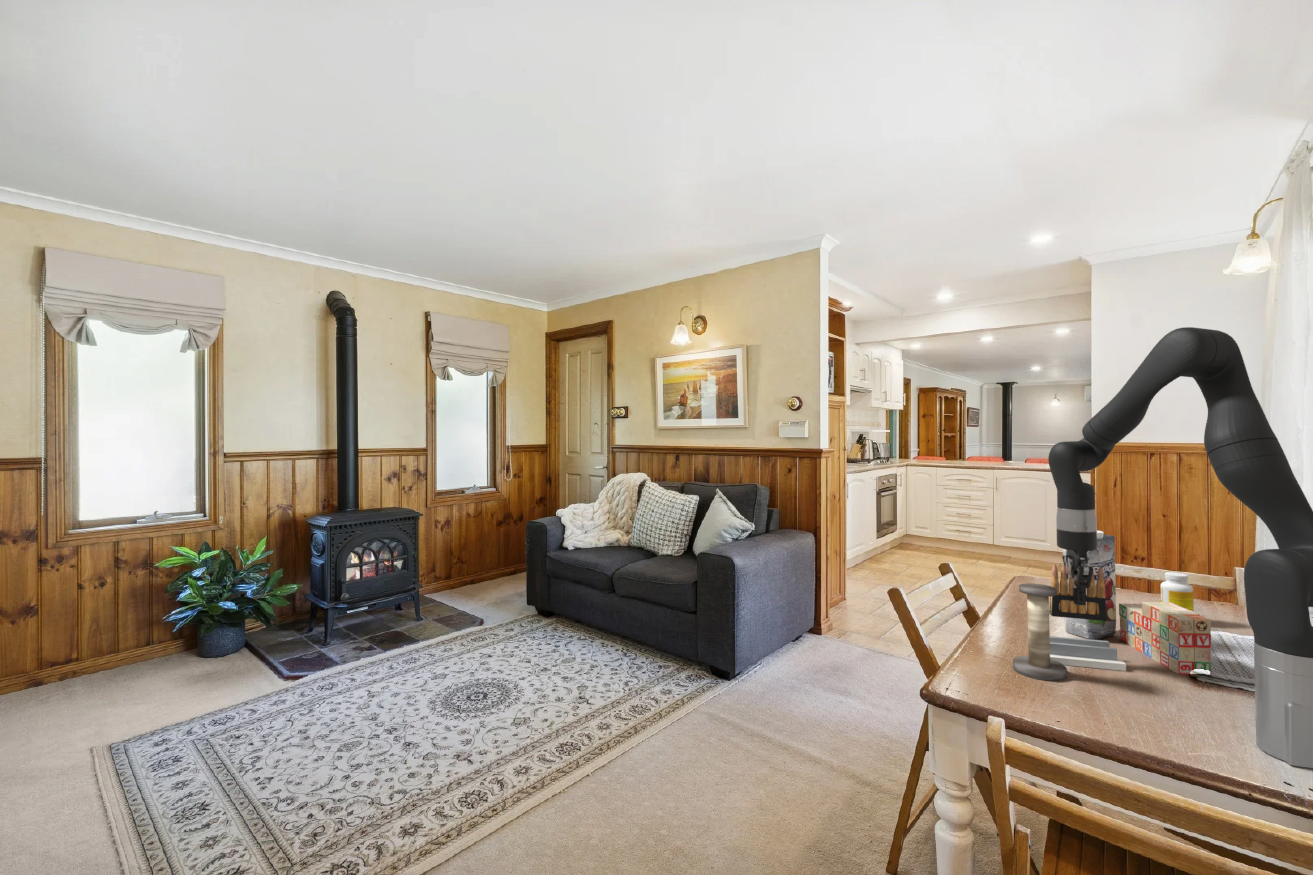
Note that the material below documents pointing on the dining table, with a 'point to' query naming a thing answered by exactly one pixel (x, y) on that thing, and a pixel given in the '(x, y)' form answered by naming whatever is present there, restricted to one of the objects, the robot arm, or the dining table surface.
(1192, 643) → the stack of blocks
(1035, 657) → the bobbin post
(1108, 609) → the juice carton
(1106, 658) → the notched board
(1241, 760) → the dining table surface
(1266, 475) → the robot arm
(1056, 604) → the ammunition clip
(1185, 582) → the supplement bottle
